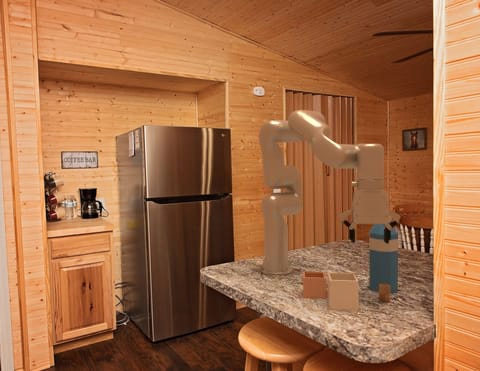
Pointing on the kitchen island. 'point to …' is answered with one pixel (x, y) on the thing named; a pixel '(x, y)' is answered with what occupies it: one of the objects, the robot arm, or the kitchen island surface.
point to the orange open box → (314, 285)
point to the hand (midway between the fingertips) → (369, 242)
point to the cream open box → (343, 291)
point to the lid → (384, 293)
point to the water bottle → (383, 258)
